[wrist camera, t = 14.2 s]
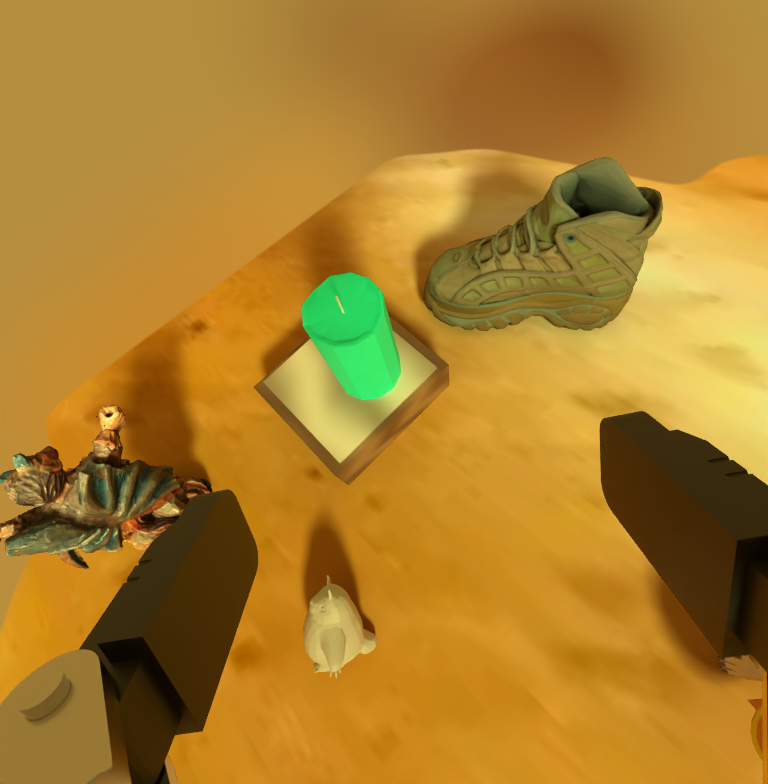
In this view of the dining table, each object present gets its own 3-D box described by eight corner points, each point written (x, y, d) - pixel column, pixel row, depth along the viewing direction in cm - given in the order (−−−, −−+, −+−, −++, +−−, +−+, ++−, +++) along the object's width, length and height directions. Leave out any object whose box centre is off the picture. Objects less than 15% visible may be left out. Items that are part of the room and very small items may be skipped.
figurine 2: (305, 619, 39) (295, 551, 36) (369, 607, 40) (364, 539, 37) (308, 710, 32) (296, 634, 29) (386, 693, 33) (382, 617, 30)
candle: (389, 331, 41) (364, 246, 30) (411, 386, 39) (394, 316, 28) (329, 354, 41) (283, 278, 30) (348, 410, 39) (305, 350, 28)
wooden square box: (368, 316, 48) (358, 288, 43) (449, 384, 44) (448, 362, 39) (273, 404, 46) (251, 385, 41) (348, 485, 42) (334, 475, 37)
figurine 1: (132, 458, 46) (-49, 414, 29) (214, 441, 46) (79, 387, 29) (130, 566, 43) (-76, 588, 26) (219, 549, 42) (68, 561, 25)
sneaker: (448, 242, 50) (445, 122, 36) (626, 280, 45) (702, 158, 31) (415, 322, 47) (399, 224, 33) (603, 372, 42) (676, 281, 28)
